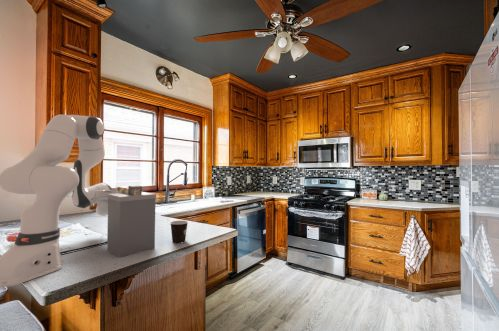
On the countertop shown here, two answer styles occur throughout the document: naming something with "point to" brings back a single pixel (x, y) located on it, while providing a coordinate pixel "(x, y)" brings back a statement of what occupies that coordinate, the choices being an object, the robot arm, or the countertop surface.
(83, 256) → the countertop surface
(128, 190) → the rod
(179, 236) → the coffee mug
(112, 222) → the case
